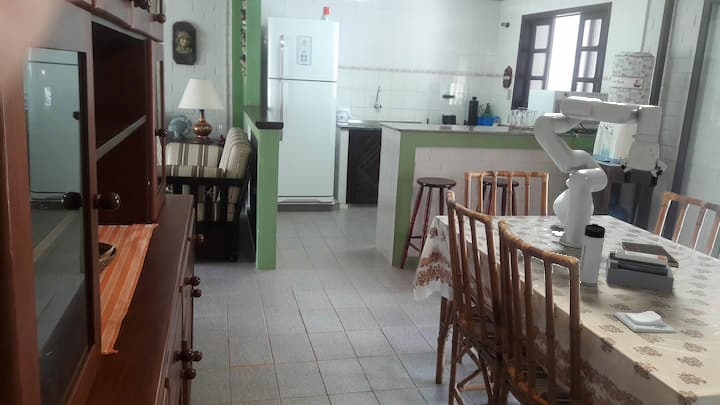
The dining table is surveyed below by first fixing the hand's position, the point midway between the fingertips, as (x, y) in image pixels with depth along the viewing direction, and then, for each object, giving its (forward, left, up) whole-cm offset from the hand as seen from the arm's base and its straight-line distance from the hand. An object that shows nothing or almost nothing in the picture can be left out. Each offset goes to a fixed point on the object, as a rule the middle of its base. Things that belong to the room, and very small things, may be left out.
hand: (639, 184), depth 215 cm
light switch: (+2, -65, -31) cm, 72 cm away
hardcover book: (+8, +12, -31) cm, 34 cm away
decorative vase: (-23, +43, -30) cm, 58 cm away
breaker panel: (+2, -24, -30) cm, 38 cm away
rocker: (+2, -24, -22) cm, 32 cm away
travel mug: (-14, -37, -30) cm, 49 cm away
